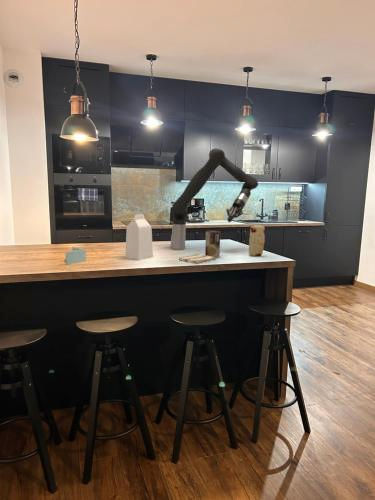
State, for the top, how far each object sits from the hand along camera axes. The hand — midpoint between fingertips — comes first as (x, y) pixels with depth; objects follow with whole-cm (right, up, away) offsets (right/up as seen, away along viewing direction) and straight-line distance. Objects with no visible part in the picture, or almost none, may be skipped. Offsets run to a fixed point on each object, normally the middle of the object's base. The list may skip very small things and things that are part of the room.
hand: (228, 221), depth 231 cm
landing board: (-21, -25, -19) cm, 37 cm away
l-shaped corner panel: (-93, -26, -31) cm, 101 cm away
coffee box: (-11, -23, -8) cm, 27 cm away
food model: (+17, -23, -2) cm, 29 cm away
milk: (-56, -23, -16) cm, 63 cm away
